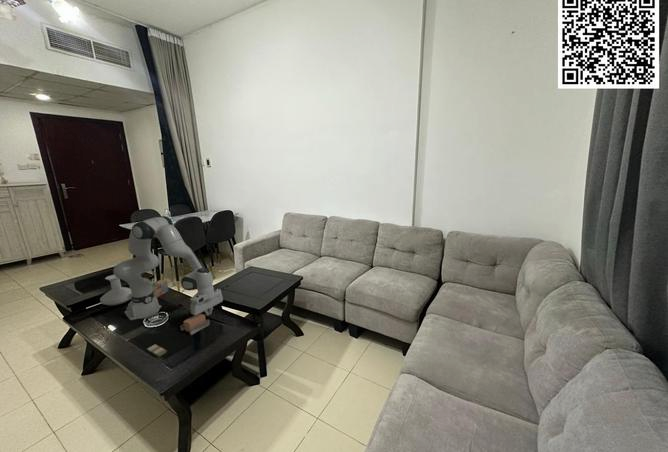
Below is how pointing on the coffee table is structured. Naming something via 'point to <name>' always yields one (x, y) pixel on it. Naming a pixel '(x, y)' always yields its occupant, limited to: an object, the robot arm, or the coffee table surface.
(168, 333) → the coffee table surface
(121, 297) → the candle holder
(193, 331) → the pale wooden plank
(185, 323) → the terracotta block
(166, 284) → the stack of blocks
